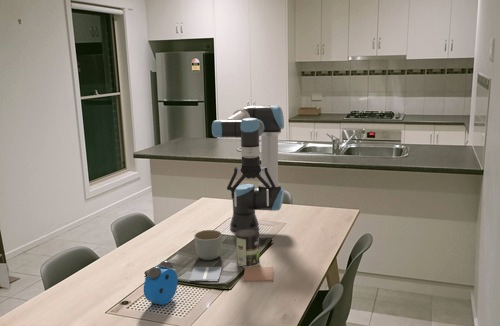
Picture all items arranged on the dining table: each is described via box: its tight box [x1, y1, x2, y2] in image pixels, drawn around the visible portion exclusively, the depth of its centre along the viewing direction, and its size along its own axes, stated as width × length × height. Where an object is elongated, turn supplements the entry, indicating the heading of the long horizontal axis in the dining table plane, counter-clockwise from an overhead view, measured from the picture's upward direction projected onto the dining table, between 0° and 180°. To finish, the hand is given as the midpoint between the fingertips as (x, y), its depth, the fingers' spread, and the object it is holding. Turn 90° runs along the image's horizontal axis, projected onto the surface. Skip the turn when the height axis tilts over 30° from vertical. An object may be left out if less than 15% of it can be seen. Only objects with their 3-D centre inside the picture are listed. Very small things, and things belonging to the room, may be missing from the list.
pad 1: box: [188, 266, 223, 281], centre depth 193 cm, size 12×12×1 cm
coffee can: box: [234, 229, 261, 268], centre depth 203 cm, size 10×10×14 cm
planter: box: [194, 229, 223, 261], centre depth 210 cm, size 12×12×11 cm
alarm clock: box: [143, 259, 179, 306], centre depth 171 cm, size 13×6×15 cm, turn 152°
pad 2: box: [243, 266, 274, 283], centre depth 192 cm, size 12×12×1 cm
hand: (251, 205), depth 196 cm, fingers open, 13 cm apart
